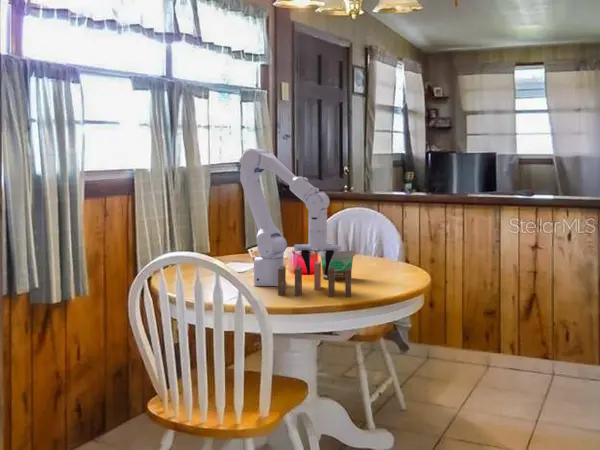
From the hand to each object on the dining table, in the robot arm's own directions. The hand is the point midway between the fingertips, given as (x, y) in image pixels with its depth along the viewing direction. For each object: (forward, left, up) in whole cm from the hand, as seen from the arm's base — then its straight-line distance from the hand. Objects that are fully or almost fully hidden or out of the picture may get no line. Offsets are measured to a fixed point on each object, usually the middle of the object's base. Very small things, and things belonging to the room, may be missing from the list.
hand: (317, 274), depth 223 cm
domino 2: (-5, -10, -4) cm, 12 cm away
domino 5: (+10, -10, -4) cm, 15 cm away
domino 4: (+5, -10, -4) cm, 12 cm away
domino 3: (0, 0, -4) cm, 4 cm away
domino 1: (-10, -10, -4) cm, 15 cm away
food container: (+6, +15, -5) cm, 17 cm away
